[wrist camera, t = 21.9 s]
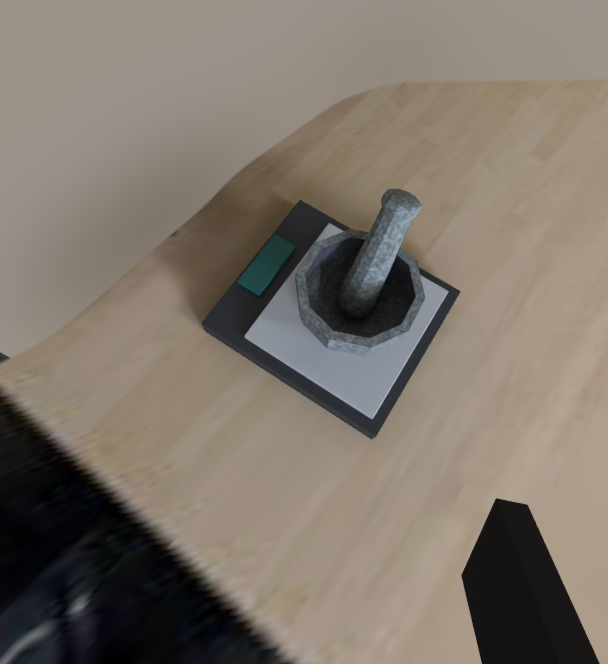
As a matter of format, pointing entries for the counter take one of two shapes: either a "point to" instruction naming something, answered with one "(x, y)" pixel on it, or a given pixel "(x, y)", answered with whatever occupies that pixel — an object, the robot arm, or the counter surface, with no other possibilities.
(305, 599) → the counter surface
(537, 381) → the counter surface
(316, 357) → the kitchen scale
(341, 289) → the mortar and pestle
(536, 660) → the robot arm
